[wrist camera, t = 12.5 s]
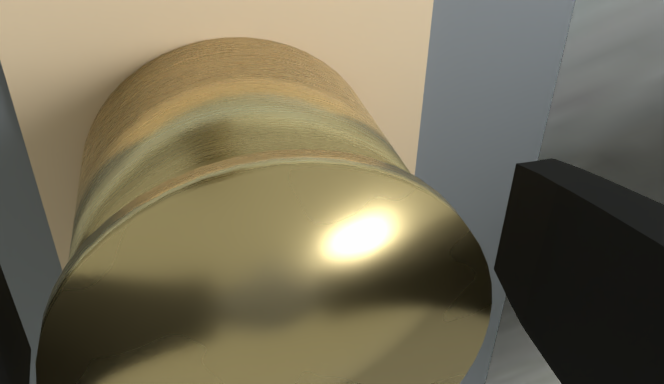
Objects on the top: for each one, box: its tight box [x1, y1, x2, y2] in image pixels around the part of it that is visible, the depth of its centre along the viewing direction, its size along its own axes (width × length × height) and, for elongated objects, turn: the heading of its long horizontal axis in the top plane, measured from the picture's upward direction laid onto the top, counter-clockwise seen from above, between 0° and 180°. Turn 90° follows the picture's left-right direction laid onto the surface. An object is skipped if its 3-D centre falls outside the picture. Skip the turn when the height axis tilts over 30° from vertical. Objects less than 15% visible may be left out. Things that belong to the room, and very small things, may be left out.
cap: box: [35, 37, 492, 384], centre depth 10 cm, size 6×6×4 cm
